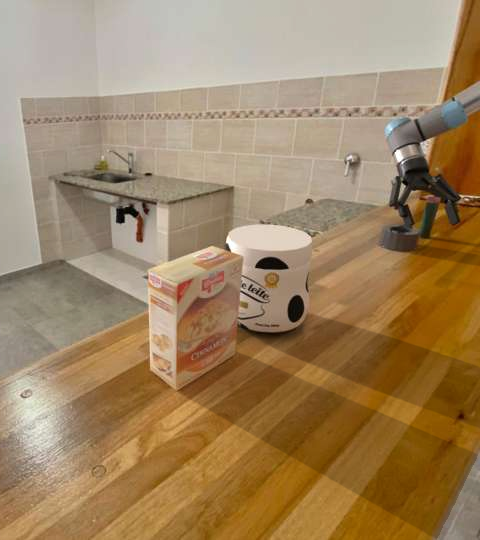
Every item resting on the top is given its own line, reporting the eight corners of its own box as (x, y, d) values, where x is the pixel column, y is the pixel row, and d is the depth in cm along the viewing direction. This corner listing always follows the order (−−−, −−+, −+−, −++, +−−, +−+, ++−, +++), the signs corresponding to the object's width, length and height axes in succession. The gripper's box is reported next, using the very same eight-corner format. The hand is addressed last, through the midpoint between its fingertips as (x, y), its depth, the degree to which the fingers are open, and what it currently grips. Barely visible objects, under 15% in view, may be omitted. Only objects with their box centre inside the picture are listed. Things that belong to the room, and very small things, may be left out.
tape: (414, 242, 111) (419, 226, 109) (417, 253, 104) (422, 236, 102) (378, 238, 116) (381, 223, 114) (378, 248, 109) (382, 232, 107)
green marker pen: (428, 235, 116) (440, 196, 111) (429, 239, 113) (441, 199, 108) (416, 234, 117) (427, 196, 112) (417, 237, 115) (428, 198, 110)
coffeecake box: (177, 392, 61) (177, 283, 53) (148, 370, 66) (145, 268, 58) (237, 354, 69) (245, 255, 61) (207, 337, 74) (211, 244, 66)
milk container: (213, 335, 75) (217, 250, 68) (221, 294, 90) (225, 221, 82) (310, 347, 69) (326, 256, 62) (301, 302, 84) (313, 224, 77)
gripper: (442, 168, 122) (466, 228, 114) (364, 172, 123) (382, 232, 115) (460, 153, 115) (487, 216, 107) (377, 158, 116) (398, 221, 108)
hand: (433, 225), depth 111 cm, fingers open, 12 cm apart
